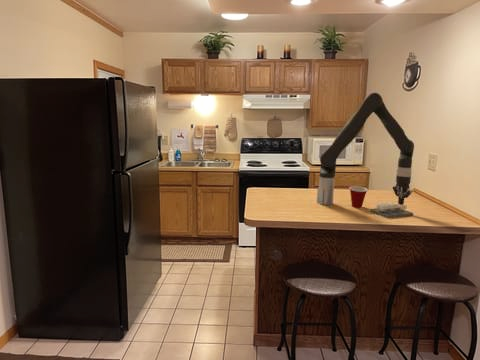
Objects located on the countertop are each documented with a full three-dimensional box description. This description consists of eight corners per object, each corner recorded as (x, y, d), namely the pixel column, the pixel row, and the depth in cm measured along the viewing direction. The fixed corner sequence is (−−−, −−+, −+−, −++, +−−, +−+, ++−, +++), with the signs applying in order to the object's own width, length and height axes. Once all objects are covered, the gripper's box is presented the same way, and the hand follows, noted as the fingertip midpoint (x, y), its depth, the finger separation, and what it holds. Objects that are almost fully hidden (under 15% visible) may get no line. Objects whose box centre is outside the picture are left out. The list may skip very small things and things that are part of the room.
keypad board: (387, 218, 186) (388, 211, 185) (369, 211, 199) (370, 204, 198) (412, 215, 192) (413, 208, 191) (394, 208, 205) (394, 202, 204)
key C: (399, 212, 194) (400, 205, 194) (393, 210, 199) (394, 203, 198) (406, 211, 196) (406, 204, 195) (399, 209, 200) (400, 202, 199)
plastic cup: (350, 209, 204) (351, 189, 201) (345, 204, 214) (347, 185, 212) (368, 209, 203) (370, 190, 201) (363, 204, 214) (364, 186, 211)
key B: (391, 211, 192) (391, 204, 191) (385, 209, 196) (385, 202, 195) (397, 210, 193) (398, 203, 193) (391, 208, 198) (392, 201, 197)
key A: (382, 212, 190) (382, 205, 189) (376, 210, 194) (376, 203, 193) (388, 211, 191) (389, 204, 191) (382, 209, 196) (383, 202, 195)
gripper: (389, 173, 198) (387, 202, 201) (407, 177, 186) (404, 207, 189) (399, 172, 200) (397, 201, 204) (418, 176, 188) (415, 206, 192)
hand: (400, 204), depth 196 cm, fingers closed
